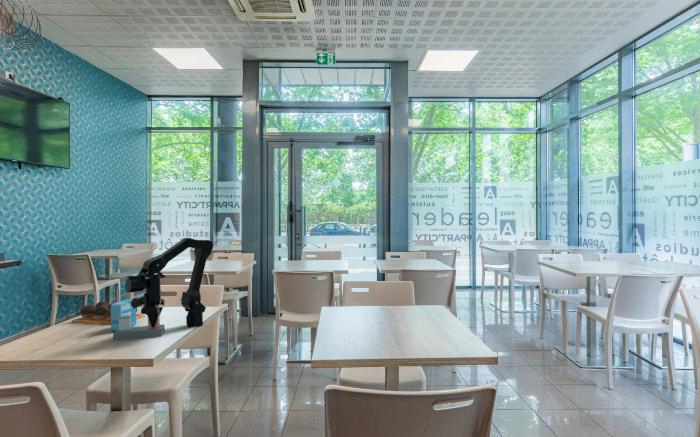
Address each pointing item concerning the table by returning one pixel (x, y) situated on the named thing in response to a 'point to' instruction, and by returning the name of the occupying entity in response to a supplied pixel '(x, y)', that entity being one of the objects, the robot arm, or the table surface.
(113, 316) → the data package
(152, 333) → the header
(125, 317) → the grey plug
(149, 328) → the brown rectangular block
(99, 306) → the chocolates on board
